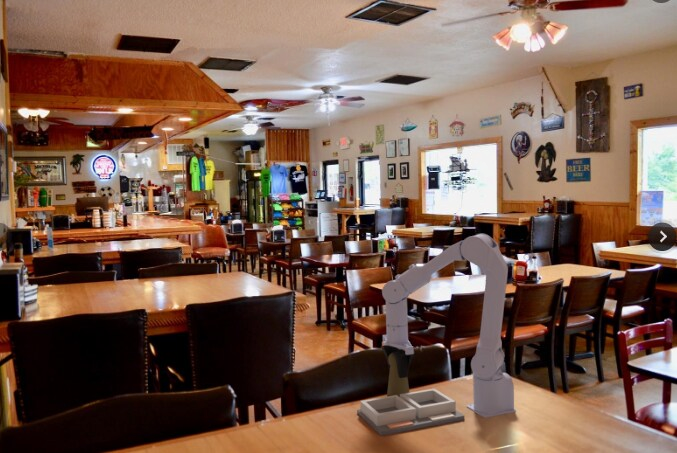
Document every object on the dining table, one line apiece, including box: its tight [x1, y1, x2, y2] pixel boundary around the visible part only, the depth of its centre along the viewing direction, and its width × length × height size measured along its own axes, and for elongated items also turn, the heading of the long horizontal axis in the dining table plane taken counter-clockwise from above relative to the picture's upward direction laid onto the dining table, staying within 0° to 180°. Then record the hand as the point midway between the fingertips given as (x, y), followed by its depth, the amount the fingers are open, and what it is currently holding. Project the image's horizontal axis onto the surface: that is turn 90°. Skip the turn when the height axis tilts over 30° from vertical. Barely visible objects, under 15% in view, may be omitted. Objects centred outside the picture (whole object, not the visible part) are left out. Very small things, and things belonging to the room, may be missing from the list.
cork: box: [386, 353, 411, 397], centre depth 149 cm, size 6×6×11 cm
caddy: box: [356, 388, 465, 437], centre depth 135 cm, size 22×14×4 cm, turn 111°
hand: (398, 374), depth 149 cm, fingers closed on cork, 5 cm apart
